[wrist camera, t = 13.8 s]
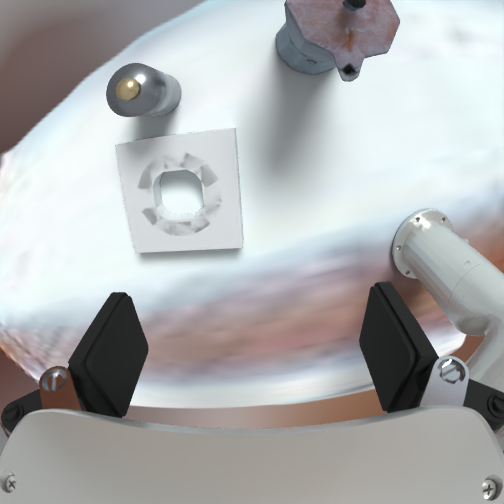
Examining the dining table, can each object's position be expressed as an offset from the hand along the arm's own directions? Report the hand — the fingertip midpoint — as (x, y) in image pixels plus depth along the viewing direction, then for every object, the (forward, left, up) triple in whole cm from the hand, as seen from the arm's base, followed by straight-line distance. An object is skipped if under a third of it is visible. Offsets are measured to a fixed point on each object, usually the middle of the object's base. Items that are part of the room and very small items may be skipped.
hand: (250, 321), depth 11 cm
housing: (+10, +2, -30) cm, 32 cm away
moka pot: (-8, -18, -31) cm, 36 cm away
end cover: (+12, -12, -30) cm, 35 cm away
